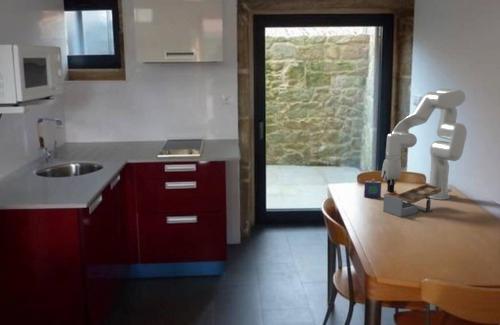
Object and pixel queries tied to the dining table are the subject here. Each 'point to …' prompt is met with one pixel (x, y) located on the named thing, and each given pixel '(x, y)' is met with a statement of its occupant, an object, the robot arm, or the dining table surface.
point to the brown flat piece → (417, 193)
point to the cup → (398, 206)
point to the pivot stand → (423, 207)
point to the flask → (372, 189)
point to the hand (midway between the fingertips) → (390, 191)
